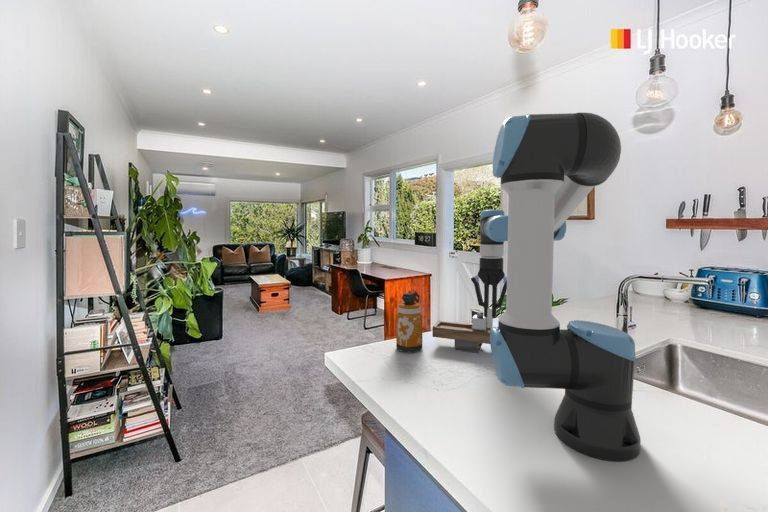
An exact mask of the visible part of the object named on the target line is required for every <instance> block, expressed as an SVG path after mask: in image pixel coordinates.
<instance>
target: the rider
mask: <svg viewBox="0 0 768 512" xmlns="http://www.w3.org/2000/svg"><path fill="white" fill-rule="evenodd" d="M471 324H472V331H480V332H487V330H488V328H487V317H484V311H477V312H476V314H474V315H473V316H472V317H471Z"/></svg>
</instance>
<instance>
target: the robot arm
mask: <svg viewBox="0 0 768 512" xmlns="http://www.w3.org/2000/svg"><path fill="white" fill-rule="evenodd" d="M618 133H619V132H618V131H617V129H616V128H615V127H614V126H613V124H612V123H611V122H610V121H609V120H608V119H607V118H605V117H603V116H600V115H599V114H596V113H592V112H576V113H575V112H574V113H571V112H570V113H537V114H535V113H534V114H531V113H528V114H524V115H514V116H513V115H512V116H510V117H509V116H508V117H507V118H506V119H505V120H504V121H503V122H502V124H501V126H500V128H499V131H498V134H497V137H496V141H495V147H494V152H493V158H492V175H493V177H495V178H497V179H499V178H500V188H502V190H504V192H506V194H507V195H508V202H507V203H508V205H507V207H508V208H507V209H508V210H507V211H508V213H507V215H505V211H504V210H503V209H486V210H485V209H483V210H481V212H480V218H479V222H480V225H479V228H480V232H479V236H480V237H479V240H480V241H479V256H480V257H479V266H478V268H479V269H478V272H477V274H476V275H475V276H472V277H471V278H470V281H471V282H472V284H473V286H474V290H475V291H474V292H475V294H476V299H477V304H478V305H479V307H483V316H484V317H487V328H491V329H490V344H489V345H490V346H489V347H490V351H491V357H492V363H493V366H494V370H495V374H496V376H497V379H498V381H499V382H500V383H501V384H502V385H504V386H507V387H517V388H518V387H519V388H521V389H525V388H530V389H531V388H533V389H553V390H554V389H556V390H557V389H558V390H560V389H561V390H564V395H563V397H562V400H561V402H560V404H559V406H558V408H557V411H556V413H555V415H554V421H553V423H554V425H553V430H554V433H555V434H556V436H557V437H558V438H559V439H560V440H561V441H562V442H563V443H564V444H566V445H567V446H568V447H570V448H571V449H573V450H575V451H577V452H579V453H581V454H584V455H587V456H589V457H593V458H595V459H601V460H604V461H605V460H606V461H614V462H615V461H616V462H624V461H629V460H632V459H635V458H637V456H638V455H640V452H641V441H642V440H641V435H640V433H639V429H638V425H637V423H636V420H635V415H634V413H633V409H632V408H633V406H632V405H633V394H634V393H633V392H634V378H635V377H634V376H635V365H636V360H637V357H636V342H635V340H634V338H633V337H632V336H631V335H630V334H628V333H627V332H625V331H624V330H621V329H619V328H616V327H614V326H610V325H606V324H603V323H598V322H593V321H588V320H579V319H578V320H577V319H575V320H570V321H569V322H568V323H567V325H566V329H564V328H563V329H561V323H560V321H559V320H558V318H556V317H555V316H554V314H553V313H552V311H553V309H552V308H553V283H554V282H553V280H554V279H553V278H554V275H553V274H554V242H555V241H561V240H563V239H564V237H565V234H566V232H567V220H568V219H569V218H570V216H571V215H572V214H573V213H574V211H575V210H576V209H577V208H578V207H579V205H580V204H581V203H582V202H583V201H584V199H585V198H586V197H587V196H588V195H589V194H590V192H591V191H592V190H593V189H594V188H595V187H597V186H600V185H602V184H603V183H605V182H606V181H607V180H608V179H609V178H610V177H611V175H612V174H613V173H614V172H615V171H616V168H617V167H618V164H619V162H620V159H621V154H622V143H621V139H620V136H619V134H618ZM504 242H507V252H506V254H507V257H506V258H507V259H506V260H507V261H506V263H507V264H506V275H505V272H504V258H503V257H504V247H505V246H504V245H505V243H504ZM480 281H481V282H482V284H484V286H483V288H484V289H483V293H484V294H483V295H482V291H481V287H480ZM501 281H502V283H503V286H502V288H501V292H500V295H499V299H498V285H499V284H500V282H501ZM490 286H491V291H492V293H491V294H492V295H491V306H489V305H490V304H489V301H490ZM483 297H484V298H483ZM505 297H506V300H505ZM497 300H498V301H497ZM504 300H505V301H506V303H505V304H506V308H505V309H506V310H505V312H504V313H502V314H501V315H500V316H499V317H498V319H497V320H498V326H494V324H493V323H494V322H493V321H494V319H496V318H497V309H498V308H501V307H502V306H503V304H504ZM492 327H494V328H492Z"/></svg>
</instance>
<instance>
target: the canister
mask: <svg viewBox="0 0 768 512" xmlns="http://www.w3.org/2000/svg"><path fill="white" fill-rule="evenodd" d="M395 314H396V315H395V318H396V319H395V320H396V324H395V328H396V332H395V334H396V335H395V336H396V337H395V338H396V339H395V340H396V345H395V346H396V349H397V350H399V351H401V352H404V353H415V352H418V351H421V350H422V349H423V312H422V306H421V304H420V294H418V292H417V291H416V290H415V291H414V292H412V291H411V290H409V291H408V292H406V293H403V294H402V296H401V300H400V303H399V304H398V305H397V311H396V313H395Z"/></svg>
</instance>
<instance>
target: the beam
mask: <svg viewBox="0 0 768 512" xmlns="http://www.w3.org/2000/svg"><path fill="white" fill-rule="evenodd" d="M494 327H495V326H492V328H494ZM490 329H491V328H488V330H487V332H480V331H472V323H462V322H461V323H460V322H452V321H445V320H438V321H437V322H436V323H435V324H434V325H433V326H432V336H431V337H432V338H439V339H447V340H454V345H453V346H454V349H455V350H454V351H459V350H460V352H467V353H475V354H479V352H480V351H481V348H482V345H483V344H488V345H490Z"/></svg>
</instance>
